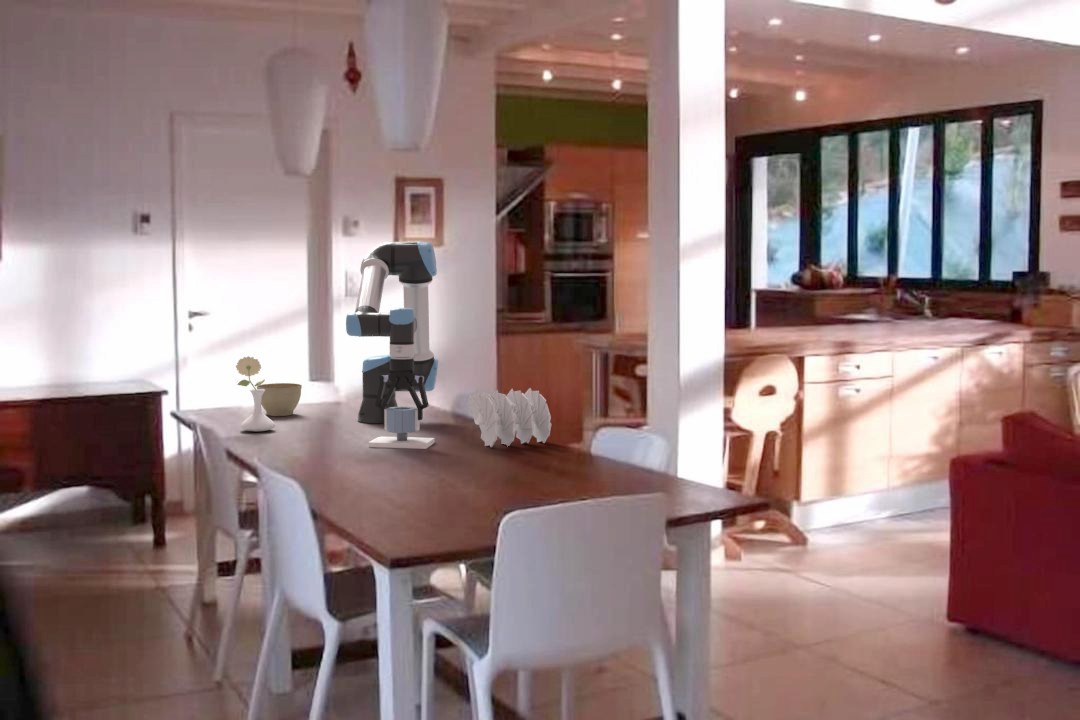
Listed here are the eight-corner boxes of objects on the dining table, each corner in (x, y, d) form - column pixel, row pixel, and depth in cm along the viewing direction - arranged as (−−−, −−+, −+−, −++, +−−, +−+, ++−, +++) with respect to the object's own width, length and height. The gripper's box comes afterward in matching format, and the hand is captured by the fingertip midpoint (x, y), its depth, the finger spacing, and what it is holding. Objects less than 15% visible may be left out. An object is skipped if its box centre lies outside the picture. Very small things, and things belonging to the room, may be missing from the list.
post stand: (378, 441, 376) (378, 414, 375) (434, 442, 374) (434, 415, 373) (368, 447, 364) (368, 419, 363) (426, 448, 362) (426, 421, 361)
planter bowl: (253, 413, 440) (252, 384, 439) (296, 411, 446) (295, 382, 446) (262, 418, 425) (261, 388, 424) (306, 416, 432) (306, 386, 431)
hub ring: (391, 428, 373) (391, 406, 373) (419, 429, 372) (419, 406, 372) (384, 432, 365) (384, 409, 364) (412, 433, 363) (412, 410, 363)
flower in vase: (280, 429, 401) (279, 355, 398) (269, 434, 389) (268, 358, 387) (242, 428, 402) (241, 354, 400) (230, 433, 391) (229, 357, 388)
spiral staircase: (552, 456, 373) (481, 458, 361) (529, 426, 386) (460, 427, 374) (567, 407, 365) (495, 408, 353) (543, 378, 378) (473, 377, 366)
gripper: (364, 358, 364) (364, 430, 366) (433, 359, 361) (433, 432, 363) (370, 356, 372) (371, 427, 373) (438, 357, 369) (438, 429, 371)
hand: (402, 430), depth 368 cm, fingers closed on hub ring, 9 cm apart
